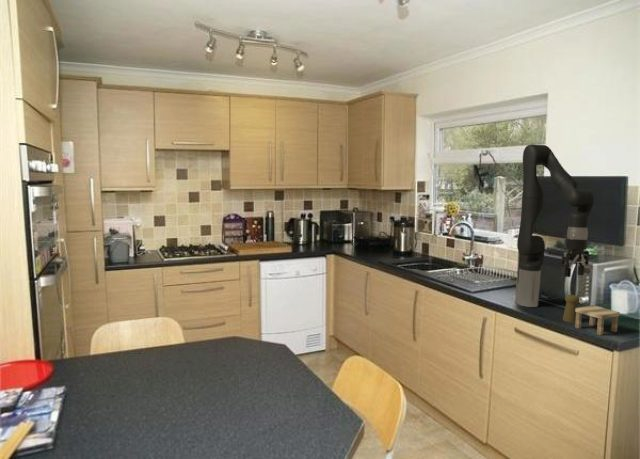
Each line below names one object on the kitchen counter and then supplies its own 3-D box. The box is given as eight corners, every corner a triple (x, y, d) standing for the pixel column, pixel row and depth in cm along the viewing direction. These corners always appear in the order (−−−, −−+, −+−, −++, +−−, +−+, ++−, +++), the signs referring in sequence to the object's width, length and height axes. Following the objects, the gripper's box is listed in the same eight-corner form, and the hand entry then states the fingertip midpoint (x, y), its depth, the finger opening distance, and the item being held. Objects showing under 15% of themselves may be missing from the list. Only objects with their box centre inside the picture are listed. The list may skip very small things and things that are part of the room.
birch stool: (574, 327, 189) (575, 308, 188) (591, 323, 194) (592, 305, 193) (600, 335, 179) (602, 315, 179) (617, 331, 184) (619, 312, 184)
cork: (574, 318, 201) (576, 293, 200) (581, 323, 195) (583, 297, 194) (560, 318, 201) (562, 293, 200) (566, 322, 195) (568, 296, 194)
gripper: (579, 236, 201) (576, 273, 203) (557, 237, 194) (554, 275, 196) (596, 238, 194) (593, 276, 196) (574, 239, 188) (571, 279, 189)
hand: (574, 275), depth 196 cm, fingers open, 8 cm apart
